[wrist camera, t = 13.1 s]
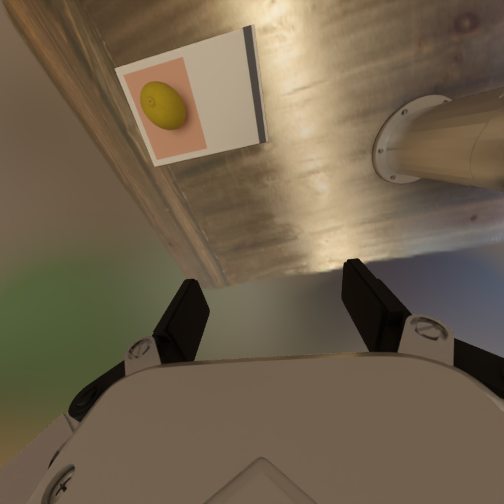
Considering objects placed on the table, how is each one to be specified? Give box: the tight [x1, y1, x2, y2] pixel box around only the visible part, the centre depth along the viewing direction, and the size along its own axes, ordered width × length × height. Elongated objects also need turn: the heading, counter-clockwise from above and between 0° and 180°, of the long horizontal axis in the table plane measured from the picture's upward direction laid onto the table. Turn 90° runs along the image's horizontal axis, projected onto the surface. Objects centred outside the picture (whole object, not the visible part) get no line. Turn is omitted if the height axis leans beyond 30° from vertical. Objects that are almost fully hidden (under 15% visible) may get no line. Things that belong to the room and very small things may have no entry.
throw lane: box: [115, 25, 268, 167], centre depth 30 cm, size 22×14×1 cm, turn 101°
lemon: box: [140, 81, 186, 130], centre depth 26 cm, size 6×6×8 cm
